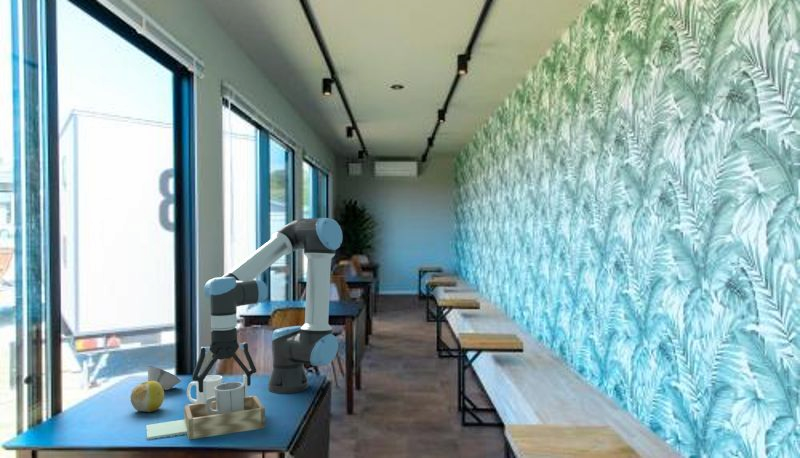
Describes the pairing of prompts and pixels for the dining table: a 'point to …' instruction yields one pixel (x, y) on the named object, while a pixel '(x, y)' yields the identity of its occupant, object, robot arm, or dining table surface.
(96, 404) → the dining table surface
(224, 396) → the cup
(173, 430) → the mat
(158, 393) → the fruit
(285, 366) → the robot arm
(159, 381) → the bowl
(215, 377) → the cup
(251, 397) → the caddy
